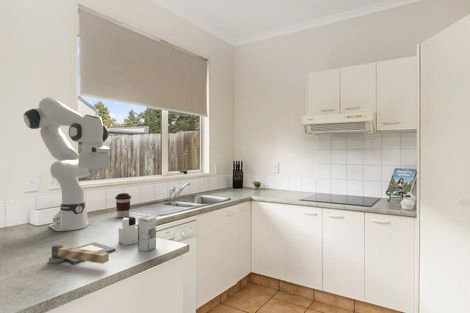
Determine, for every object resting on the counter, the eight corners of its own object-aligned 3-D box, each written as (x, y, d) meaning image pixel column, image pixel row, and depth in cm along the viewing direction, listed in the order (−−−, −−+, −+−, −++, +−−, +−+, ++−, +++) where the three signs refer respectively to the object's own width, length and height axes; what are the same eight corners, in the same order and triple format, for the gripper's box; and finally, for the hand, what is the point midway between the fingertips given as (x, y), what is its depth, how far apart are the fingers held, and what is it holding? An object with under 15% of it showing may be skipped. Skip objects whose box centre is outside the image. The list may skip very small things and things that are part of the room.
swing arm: (49, 257, 116) (49, 247, 116) (58, 253, 120) (58, 243, 120) (101, 265, 108) (101, 254, 108) (109, 261, 112) (109, 251, 112)
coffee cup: (126, 218, 191) (126, 195, 191) (112, 217, 193) (112, 194, 193) (133, 214, 201) (133, 193, 201) (120, 214, 203) (120, 192, 202)
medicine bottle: (131, 239, 147) (131, 215, 146) (139, 241, 142) (139, 217, 142) (118, 242, 141) (118, 217, 141) (126, 245, 137) (126, 220, 136)
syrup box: (145, 246, 136) (145, 215, 135) (156, 247, 133) (156, 216, 133) (137, 250, 130) (137, 217, 130) (148, 252, 128) (148, 218, 128)
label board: (40, 259, 119) (40, 255, 119) (94, 244, 138) (94, 241, 138) (61, 268, 110) (61, 264, 110) (115, 250, 130) (115, 247, 130)
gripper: (74, 148, 142) (74, 177, 142) (99, 148, 131) (99, 179, 131) (86, 148, 147) (87, 176, 148) (112, 148, 136) (112, 178, 137)
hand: (93, 178), depth 139 cm, fingers closed
